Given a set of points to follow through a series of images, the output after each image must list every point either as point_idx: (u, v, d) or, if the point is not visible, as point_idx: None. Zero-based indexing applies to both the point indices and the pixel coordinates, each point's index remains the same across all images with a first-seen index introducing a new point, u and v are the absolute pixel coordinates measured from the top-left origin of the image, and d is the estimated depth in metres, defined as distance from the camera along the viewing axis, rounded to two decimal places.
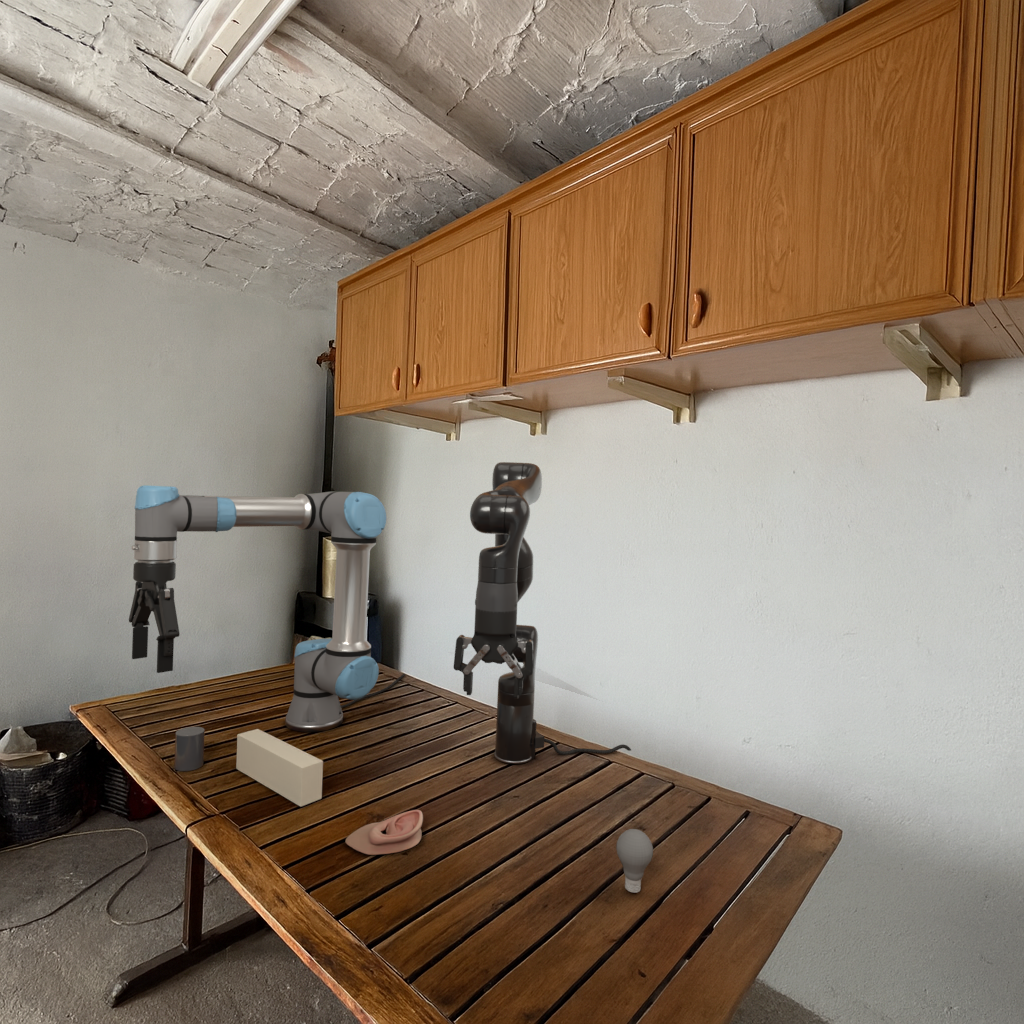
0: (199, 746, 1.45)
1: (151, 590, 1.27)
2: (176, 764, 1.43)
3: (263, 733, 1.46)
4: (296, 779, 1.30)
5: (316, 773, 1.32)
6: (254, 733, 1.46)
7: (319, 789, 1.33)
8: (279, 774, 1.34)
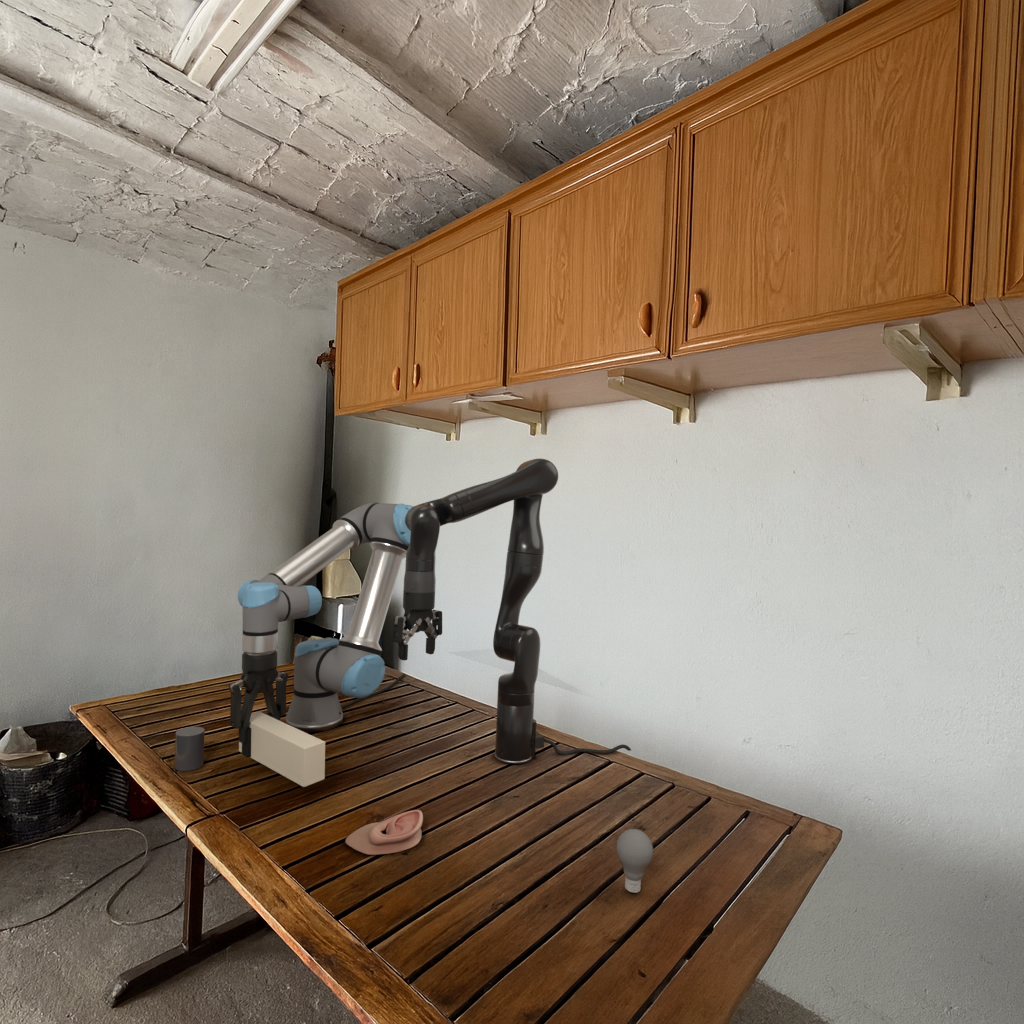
0: (199, 746, 1.45)
1: None
2: (176, 764, 1.43)
3: (265, 715, 1.47)
4: (299, 759, 1.31)
5: (318, 754, 1.32)
6: (256, 716, 1.46)
7: (322, 770, 1.33)
8: (281, 755, 1.35)
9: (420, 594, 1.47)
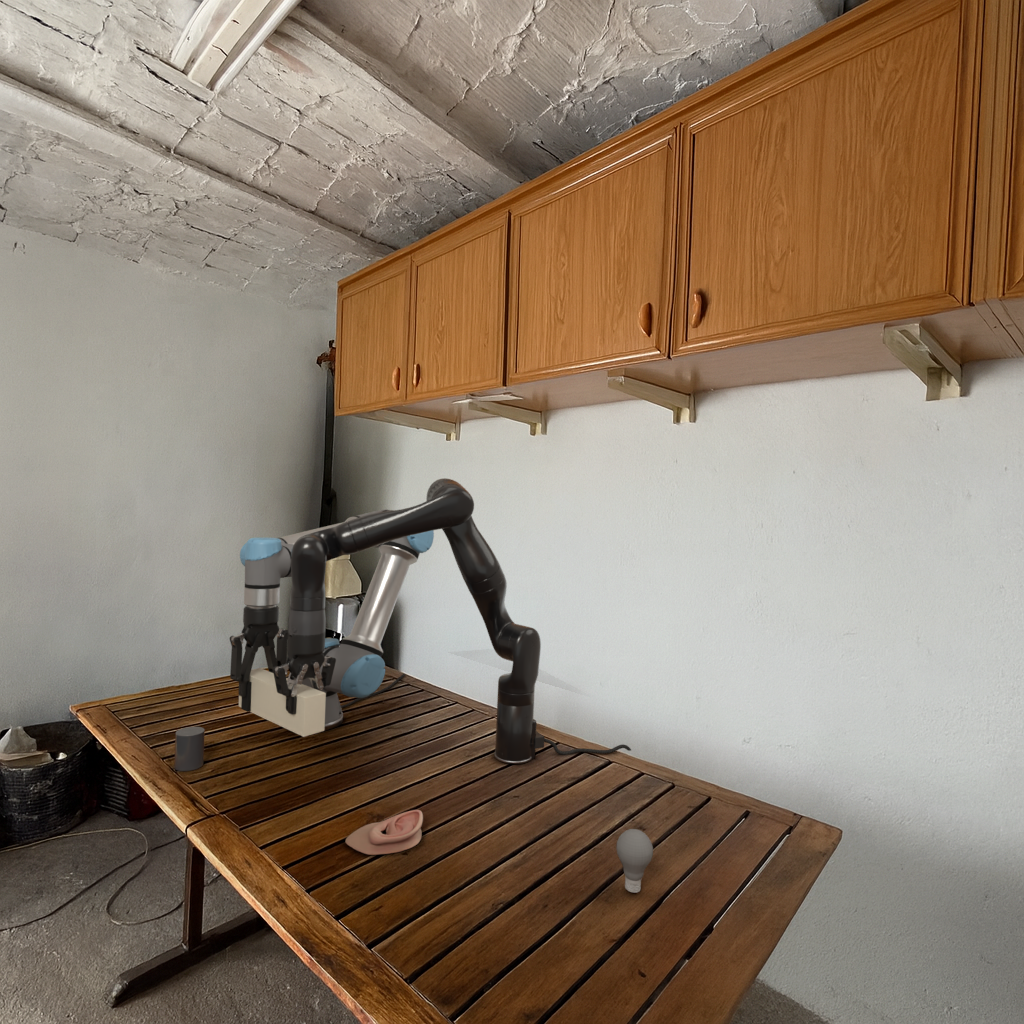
0: (199, 746, 1.45)
1: None
2: (176, 764, 1.43)
3: (265, 671, 1.46)
4: (299, 709, 1.30)
5: (319, 705, 1.31)
6: (256, 671, 1.46)
7: (322, 721, 1.32)
8: (281, 707, 1.34)
9: (304, 637, 1.29)
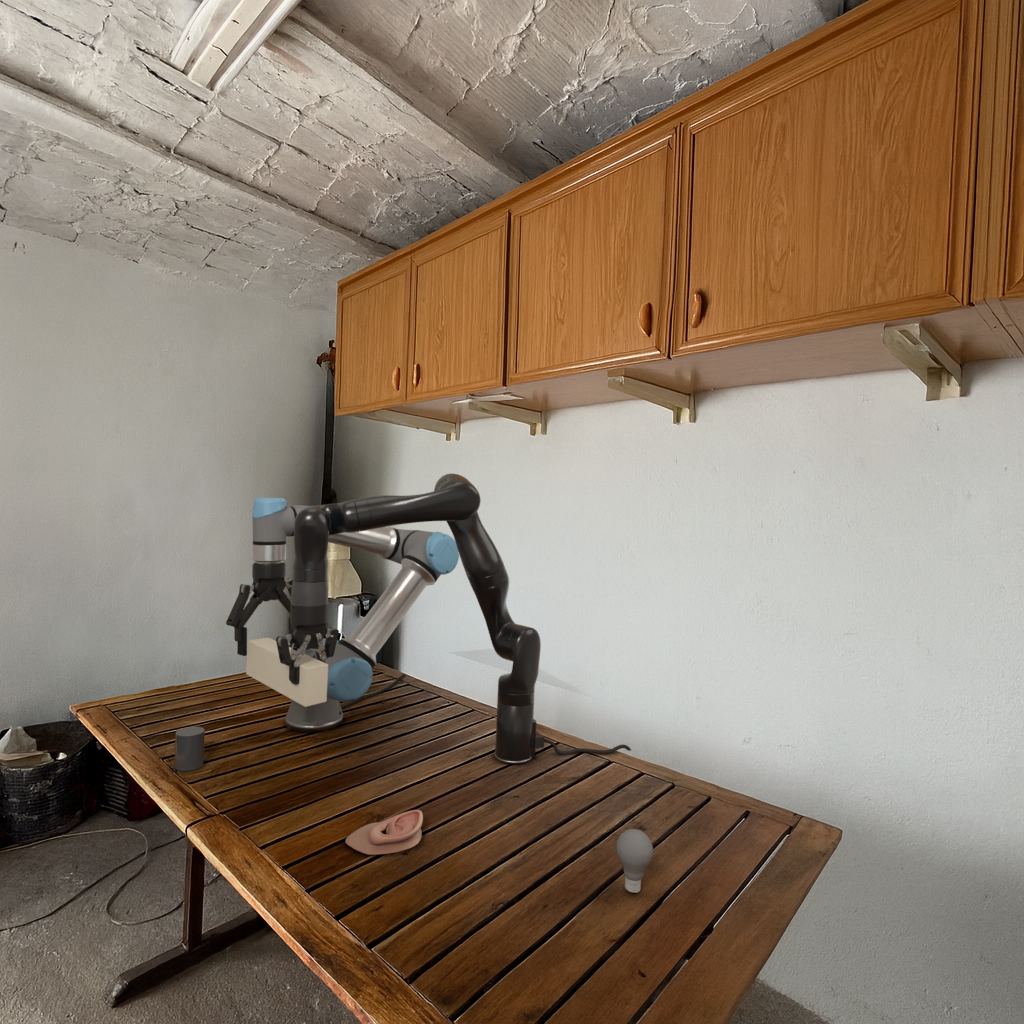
0: (199, 746, 1.45)
1: None
2: (176, 764, 1.43)
3: (273, 641, 1.48)
4: (301, 680, 1.31)
5: (321, 676, 1.32)
6: (264, 640, 1.48)
7: (324, 692, 1.33)
8: (285, 676, 1.35)
9: (307, 608, 1.30)
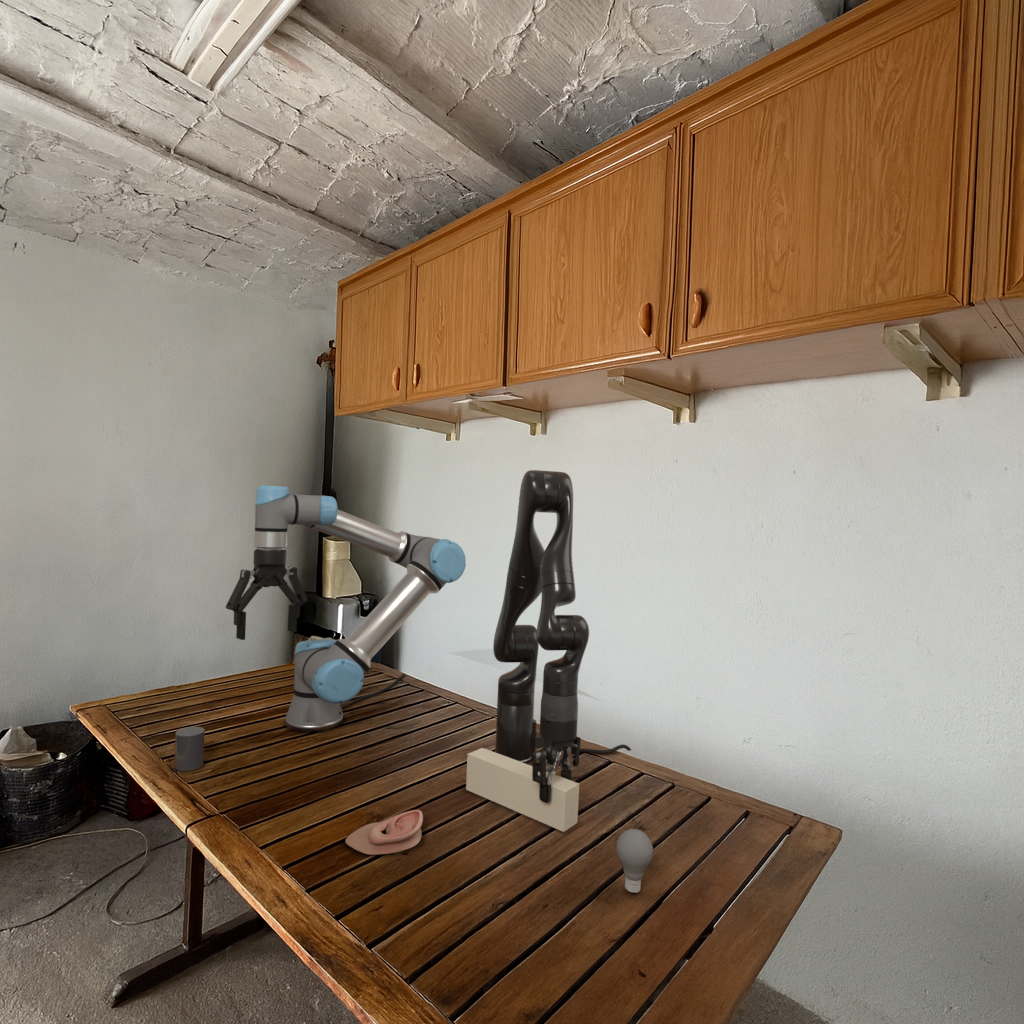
0: (199, 746, 1.45)
1: None
2: (176, 764, 1.43)
3: (492, 752, 1.41)
4: (556, 802, 1.25)
5: (574, 797, 1.26)
6: (483, 752, 1.41)
7: (576, 813, 1.27)
8: (530, 797, 1.29)
9: (564, 723, 1.24)
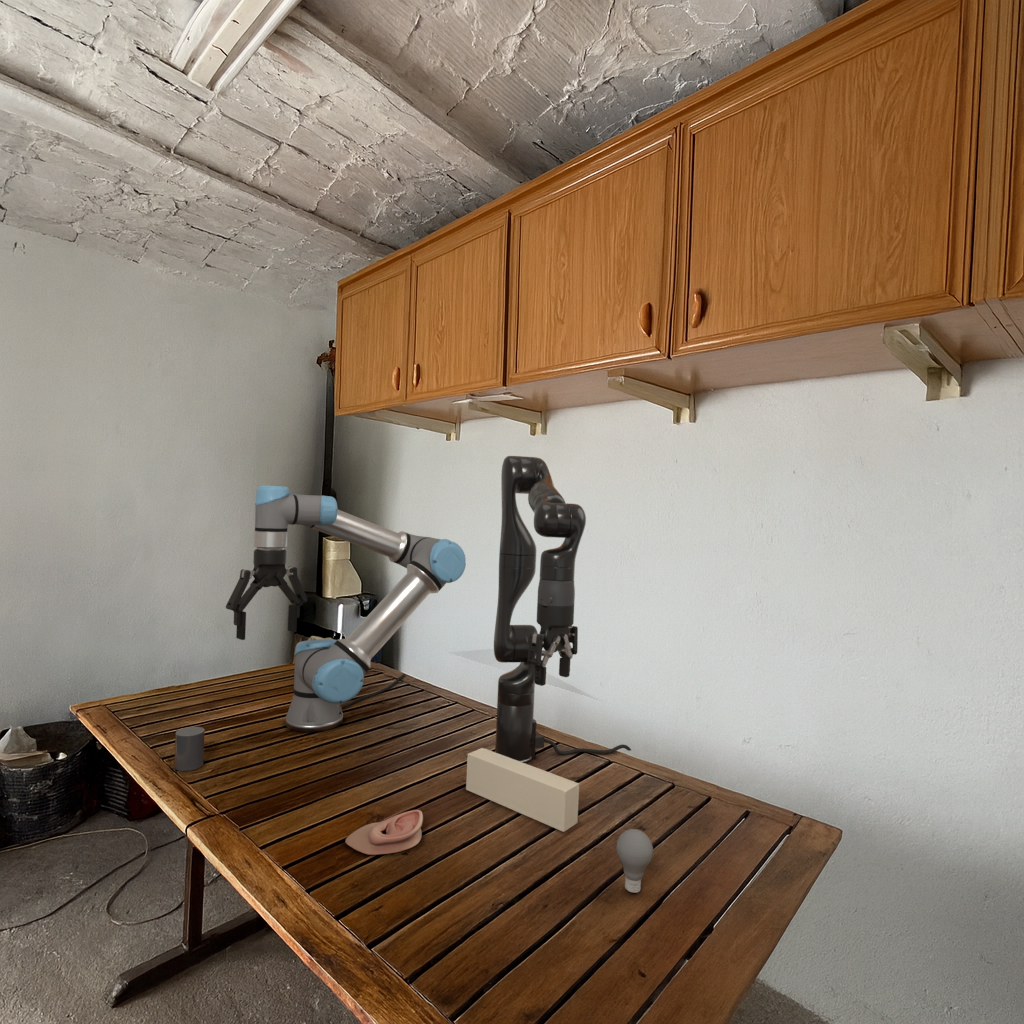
0: (199, 746, 1.45)
1: None
2: (176, 764, 1.43)
3: (492, 752, 1.41)
4: (556, 802, 1.25)
5: (574, 797, 1.26)
6: (483, 752, 1.41)
7: (576, 813, 1.27)
8: (530, 797, 1.29)
9: (561, 608, 1.25)
